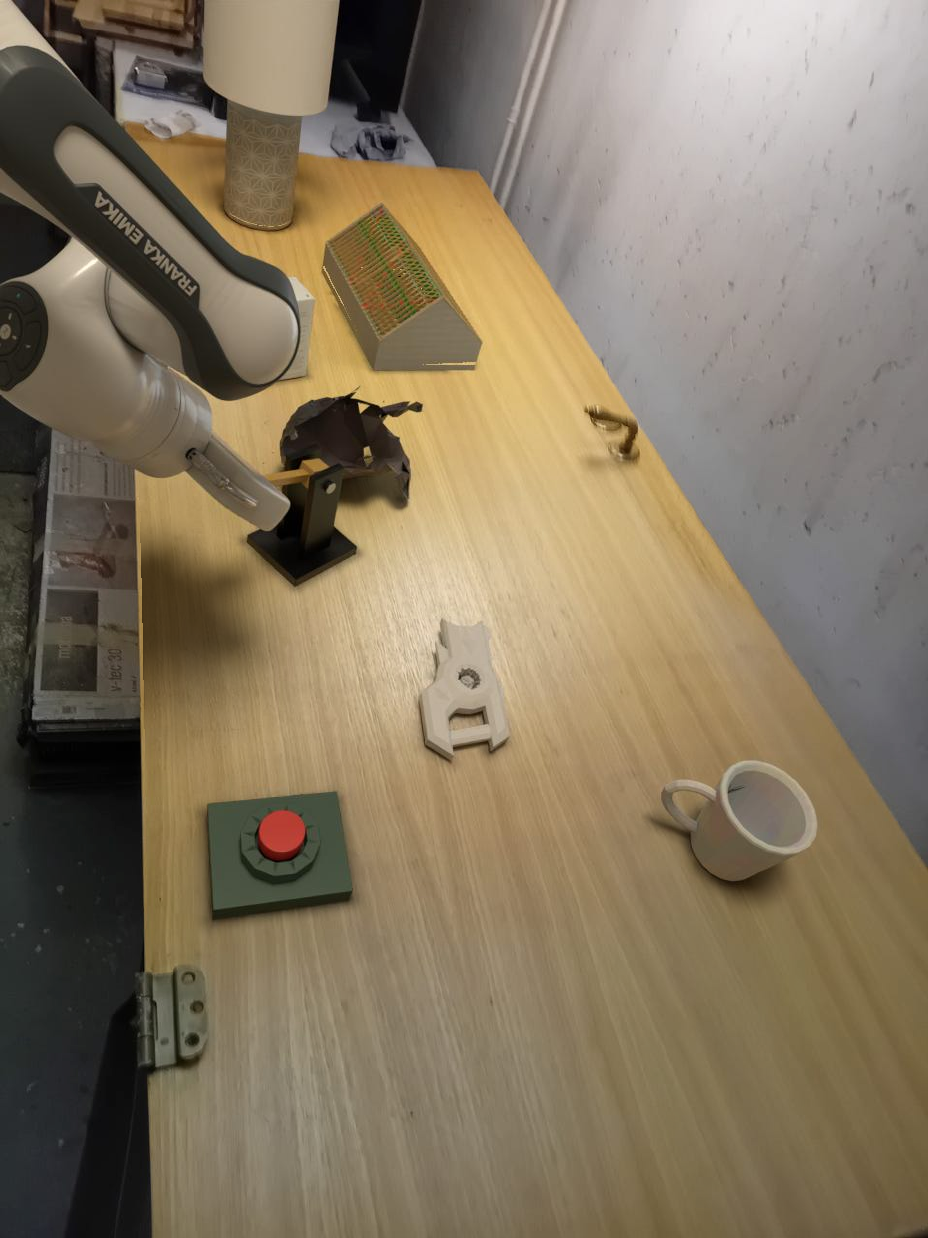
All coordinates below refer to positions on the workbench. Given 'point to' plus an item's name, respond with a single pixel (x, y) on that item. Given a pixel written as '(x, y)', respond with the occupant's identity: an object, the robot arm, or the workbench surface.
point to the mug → (746, 819)
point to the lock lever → (297, 473)
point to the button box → (272, 884)
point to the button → (281, 835)
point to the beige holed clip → (463, 691)
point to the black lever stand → (306, 524)
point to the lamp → (267, 95)
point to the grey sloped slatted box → (396, 298)
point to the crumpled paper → (350, 436)
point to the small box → (302, 329)
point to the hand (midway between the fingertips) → (244, 474)
